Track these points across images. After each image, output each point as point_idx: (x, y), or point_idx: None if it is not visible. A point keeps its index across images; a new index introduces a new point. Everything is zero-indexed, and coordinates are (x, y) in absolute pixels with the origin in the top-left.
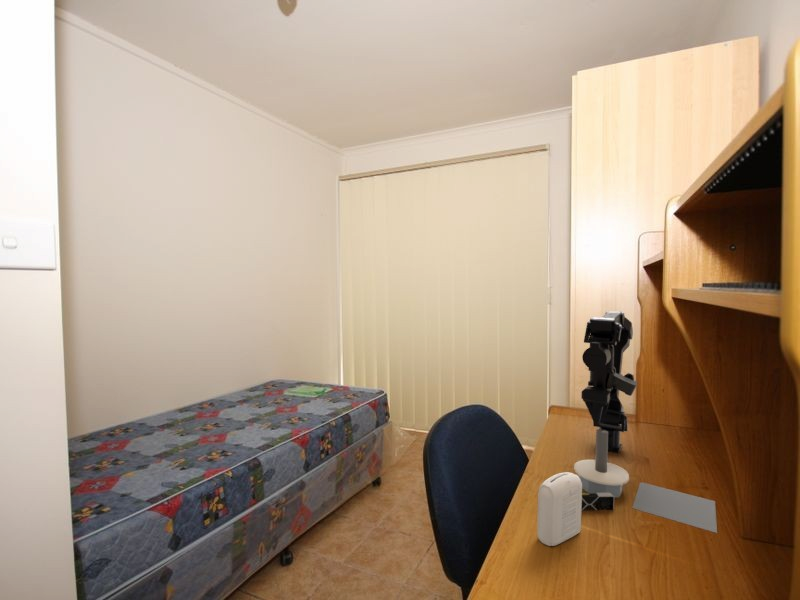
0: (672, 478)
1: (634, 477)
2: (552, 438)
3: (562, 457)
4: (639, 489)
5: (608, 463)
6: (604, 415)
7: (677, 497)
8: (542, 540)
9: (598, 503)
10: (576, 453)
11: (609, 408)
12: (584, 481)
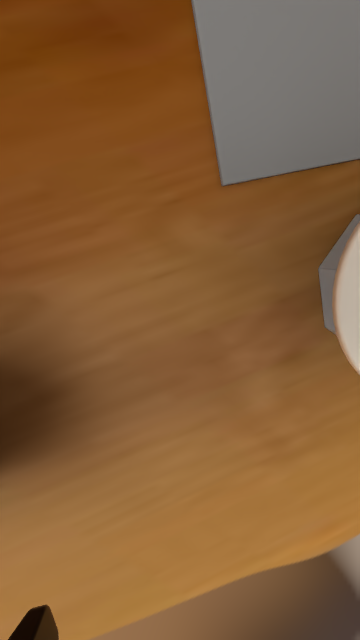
0: (40, 85)
1: (177, 225)
2: None
3: (214, 504)
4: (301, 163)
5: (355, 299)
6: (48, 607)
7: (261, 7)
8: None
9: None
10: (126, 491)
11: None
12: None
